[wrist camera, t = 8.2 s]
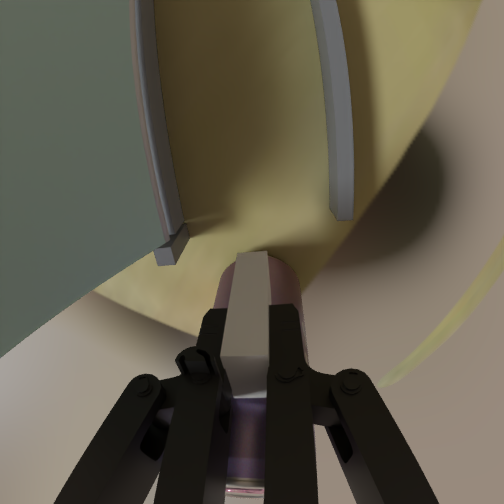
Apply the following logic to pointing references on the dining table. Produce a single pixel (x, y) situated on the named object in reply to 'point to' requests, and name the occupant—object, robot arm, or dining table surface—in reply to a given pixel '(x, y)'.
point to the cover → (70, 157)
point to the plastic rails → (335, 116)
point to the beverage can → (254, 409)
